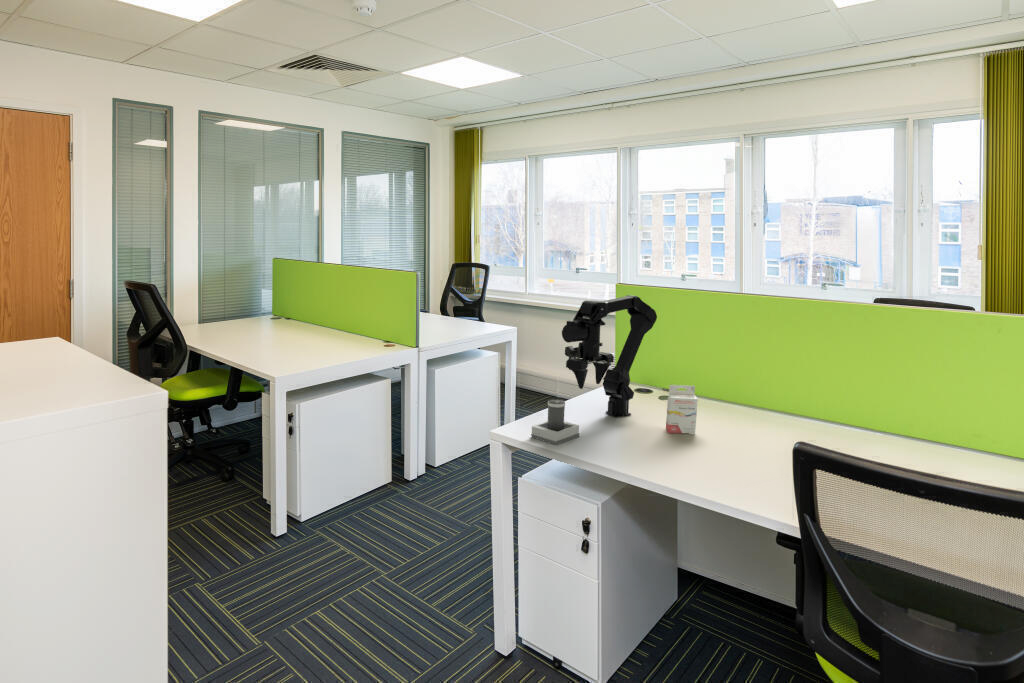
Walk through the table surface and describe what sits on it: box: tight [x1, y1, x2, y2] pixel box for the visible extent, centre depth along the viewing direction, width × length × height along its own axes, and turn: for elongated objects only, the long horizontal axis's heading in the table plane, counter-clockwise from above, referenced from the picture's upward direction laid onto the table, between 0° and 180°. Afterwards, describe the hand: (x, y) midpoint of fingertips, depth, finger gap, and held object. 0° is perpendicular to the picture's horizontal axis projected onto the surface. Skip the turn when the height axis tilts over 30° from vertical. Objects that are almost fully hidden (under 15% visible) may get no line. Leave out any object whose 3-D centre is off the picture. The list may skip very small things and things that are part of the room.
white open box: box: [530, 420, 580, 446], centre depth 189 cm, size 11×10×4 cm
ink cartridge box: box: [665, 384, 699, 435], centre depth 194 cm, size 9×5×15 cm, turn 84°
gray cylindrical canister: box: [547, 399, 566, 432], centre depth 188 cm, size 5×5×10 cm
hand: (589, 386), depth 203 cm, fingers open, 9 cm apart
